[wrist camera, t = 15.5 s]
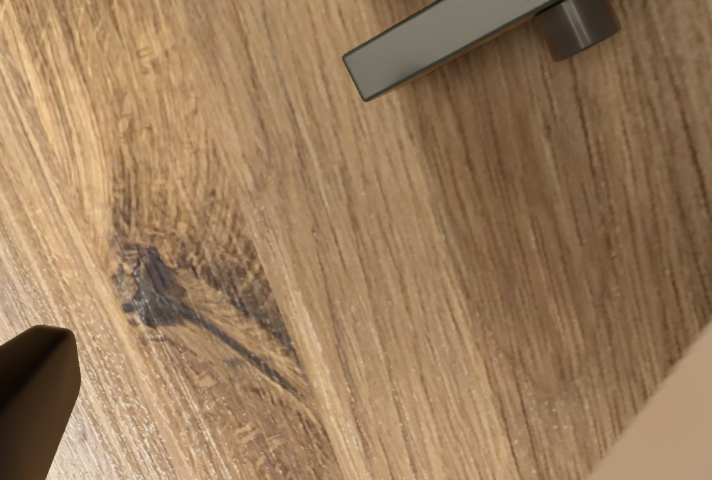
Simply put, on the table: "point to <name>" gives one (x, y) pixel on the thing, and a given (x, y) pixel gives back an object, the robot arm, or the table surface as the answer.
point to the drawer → (471, 37)
